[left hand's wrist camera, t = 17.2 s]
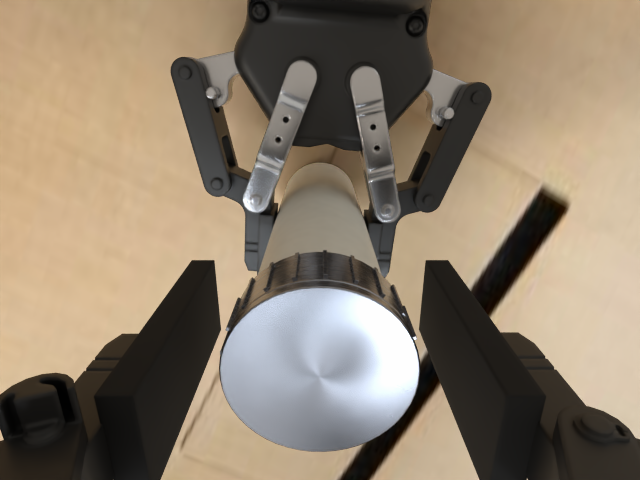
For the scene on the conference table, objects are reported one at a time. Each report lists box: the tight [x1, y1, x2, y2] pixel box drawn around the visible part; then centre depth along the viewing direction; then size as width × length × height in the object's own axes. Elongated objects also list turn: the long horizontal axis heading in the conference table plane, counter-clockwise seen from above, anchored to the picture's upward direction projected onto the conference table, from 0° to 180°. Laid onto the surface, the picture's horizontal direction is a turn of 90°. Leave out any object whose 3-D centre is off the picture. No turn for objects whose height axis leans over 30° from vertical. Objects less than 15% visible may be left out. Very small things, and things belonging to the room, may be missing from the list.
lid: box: [219, 250, 420, 452], centre depth 12 cm, size 5×5×2 cm
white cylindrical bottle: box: [258, 163, 382, 275], centre depth 19 cm, size 4×4×17 cm
